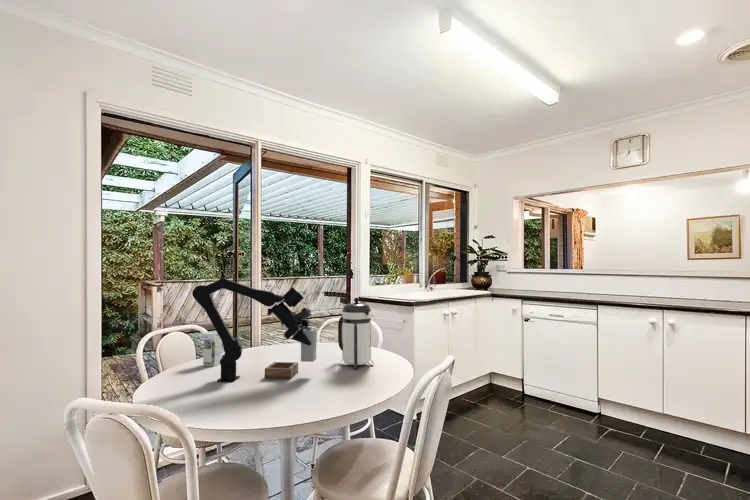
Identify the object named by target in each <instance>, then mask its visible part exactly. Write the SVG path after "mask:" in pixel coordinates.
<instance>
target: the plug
mask: <svg viewBox="0 0 750 500" xmlns="http://www.w3.org/2000/svg"><path fill="white" fill-rule="evenodd" d="M304 334H305V335H306V337H307V338H308V339H309V341H310V342H311V345H310V346H309V345H306V344H304V343H301V342H300V362H312V363H313V362H315V360H317V328H312V326H311V327H310V326H309V327H307V328H306V329H304Z"/></svg>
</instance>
